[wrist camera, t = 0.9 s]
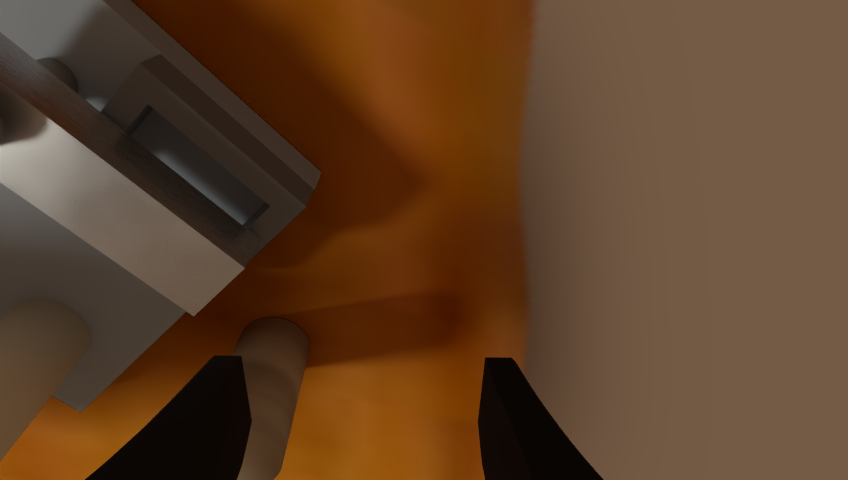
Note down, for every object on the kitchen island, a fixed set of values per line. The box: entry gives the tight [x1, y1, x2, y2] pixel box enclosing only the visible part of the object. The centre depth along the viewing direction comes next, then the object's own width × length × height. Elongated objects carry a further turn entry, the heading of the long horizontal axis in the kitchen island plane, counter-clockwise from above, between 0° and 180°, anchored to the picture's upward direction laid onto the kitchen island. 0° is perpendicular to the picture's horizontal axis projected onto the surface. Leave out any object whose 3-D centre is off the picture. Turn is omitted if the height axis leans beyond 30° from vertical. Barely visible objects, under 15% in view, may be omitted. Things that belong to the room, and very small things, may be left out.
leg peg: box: [232, 317, 309, 480], centre depth 21 cm, size 3×3×6 cm
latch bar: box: [0, 32, 259, 316], centre depth 15 cm, size 9×2×2 cm, turn 43°
